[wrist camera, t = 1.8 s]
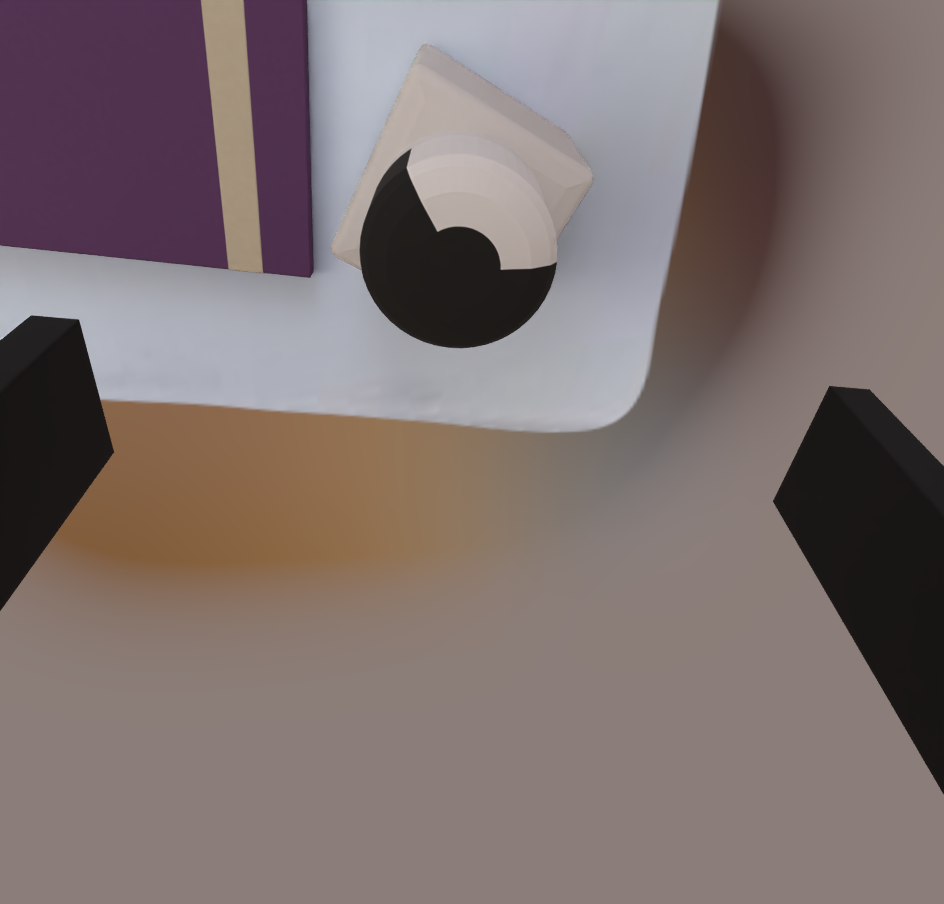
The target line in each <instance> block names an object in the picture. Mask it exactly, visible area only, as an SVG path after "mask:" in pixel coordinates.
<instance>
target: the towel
mask: <svg viewBox="0 0 944 904" xmlns="http://www.w3.org/2000/svg"><path fill="white" fill-rule="evenodd" d="M0 245H2V246H11V247H21V248H30V249H40V250H50V251H59V252H69V253H78V254H88V255H98V256H107V257H117V258H126V259H136V260H145V261H155V262H165V263H174V264H184V265H193V266H203V267H212V268H222V269H229V270H237V271H246V272H256V273H270V274H280V275H289V276H299V277H308V278H310V277H311V275H312V273H313V236H312V196H311V157H310V117H309V78H308V38H307V0H0Z"/></svg>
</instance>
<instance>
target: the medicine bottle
mask: <svg viewBox="0 0 944 904" xmlns="http://www.w3.org/2000/svg"><path fill="white" fill-rule="evenodd" d="M592 182H593V173H592V172H591V170H590V169H589V167H588V165H587V164H586V162H585V161H584V159H583V158H582V156H581V154H580V153H579V151H578V150H577V148H576V147H575V145H574V143H573V142H572V140H571V139H570V137H569V136H568V134H567V133H566V132H565V131H563V130H562V129H560V128H559V127H557V126H556V125H554V124H552V123H551V122H549V121H548V120H546V119H545V118H543V117H542V116H540V115H539V114H537V113H536V112H534V111H532V110H531V109H529V108H528V107H526V106H525V105H523V104H522V103H520V102H519V101H517V100H515V99H514V98H512V97H511V96H509V95H508V94H506V93H505V92H503V91H502V90H500V89H499V88H497V87H495V86H494V85H492V84H491V83H489V82H488V81H486V80H485V79H483V78H482V77H480V76H478V75H477V74H475V73H474V72H472V71H471V70H469V69H468V68H466V67H465V66H463V65H461V64H460V63H458V62H457V61H455V60H454V59H452V58H451V57H449V56H448V55H446V54H445V53H443V52H441V51H440V50H438V49H437V48H435V47H434V46H432V45H429V44H425V45H422V46H421V48H420V49H419V51H418V53H417V55H416V57H415V59H414V61H413V63H412V65H411V68H410V70H409V72H408V74H407V76H406V79H405V81H404V83H403V85H402V88H401V90H400V92H399V94H398V97H397V99H396V101H395V103H394V106H393V108H392V110H391V112H390V114H389V117H388V119H387V121H386V123H385V126H384V128H383V130H382V132H381V135H380V137H379V139H378V141H377V144H376V146H375V148H374V150H373V153H372V155H371V157H370V159H369V162H368V164H367V166H366V168H365V171H364V173H363V175H362V177H361V180H360V182H359V184H358V186H357V189H356V191H355V193H354V195H353V198H352V200H351V202H350V204H349V207H348V209H347V211H346V213H345V216H344V218H343V220H342V222H341V224H340V227H339V229H338V231H337V233H336V236H335V238H334V240H333V242H332V247H331V249H332V252H333V254H334V255H335V256H336V257H337V258H339V259H341V260H343V261H345V262H347V263H349V264H351V265H352V266H354V267H356V268H358V269H360V270H362V274H363V278H364V281H365V283H366V286H367V289H368V291H369V293H370V295H371V296H372V298H373V300H374V302H375V303H376V305H377V306H378V307H379V309H380V310H381V312H382V313H383V314H384V315H385V316H386V317H387V318H388V319H389V320H390V321H391V322H392V323H393V324H395V325H396V326H397V327H398V328H399V329H401V330H402V331H404V332H405V333H407V334H409V335H410V336H412V337H414V338H416V339H419V340H421V341H423V342H426V343H429V344H433V345H436V346H442V347H448V348H469V347H476V346H481V345H486V344H489V343H492V342H495V341H498V340H500V339H502V338H504V337H506V336H508V335H510V334H511V333H513V332H514V331H516V330H517V329H519V328H520V327H521V326H522V325H523V324H525V323H526V322H527V321H528V320H529V319H530V318H531V317H532V316H533V315H534V313H535V312H536V311H537V310H538V309H539V307H540V306H541V304H542V303H543V301H544V300H545V298H546V296H547V294H548V292H549V290H550V288H551V285H552V281H553V278H554V275H555V270H556V265H557V238H558V236H559V235H560V233H561V232H562V230H563V229H564V227H565V225H566V224H567V222H568V221H569V219H570V218H571V216H572V215H573V213H574V211H575V210H576V208H577V207H578V205H579V204H580V202H581V201H582V199H583V197H584V196H585V194H586V193H587V191H588V190H589V188H590V187H591V185H592Z"/></svg>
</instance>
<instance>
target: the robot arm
mask: <svg viewBox="0 0 944 904" xmlns="http://www.w3.org/2000/svg"><path fill="white" fill-rule="evenodd" d="M113 453H114V450H113V447H112V443H111V439H110V435H109V432H108V428H107V424H106V420H105V417H104V412H103V409H102V405H101V401H100V397H99V393H98V390H97V386H96V382H95V378H94V375H93V371H92V367H91V363H90V359H89V356H88V352H87V348H86V344H85V340H84V337H83V333H82V329H81V325H80V322H79V320H77V319H66V318H54V317H43V316H32V315H31V316H30V317H29V318H27V319H26V320H25V321H24V322H23V323H21V324H20V325H19V326H18V327H16V328H15V329H14V330H13V331H11V332H10V333H9V334H8V335H6V336H5V337H4V338H3V339H2V340H0V610H1V609H2V608H3V606H4V605H5V604H6V602H7V601H8V599H9V598H10V597H11V595H12V594H13V592H14V591H15V589H16V588H17V587H18V586H19V584H20V583H21V581H22V580H23V579H24V577H25V576H26V574H27V573H28V571H29V570H30V569H31V567H32V566H33V565H34V563H35V562H36V560H37V559H38V558H39V556H40V555H41V553H42V552H43V550H44V549H45V548H46V546H47V545H48V544H49V542H50V541H51V539H52V538H53V537H54V535H55V534H56V532H57V531H58V530H59V528H60V527H61V525H62V524H63V523H64V521H65V520H66V519H67V517H68V516H69V514H70V513H71V512H72V510H73V509H74V507H75V506H76V505H77V503H78V502H79V500H80V499H81V498H82V496H83V495H84V493H85V492H86V491H87V489H88V488H89V486H90V485H91V484H92V482H93V481H94V479H95V478H96V477H97V475H98V474H99V472H100V471H101V469H102V468H103V467H104V465H105V464H106V463H107V461H108V460H109V458H110V457H111V456H112V454H113ZM773 502H774V504H775V506H776V507H777V509H778V511H779V512H780V514H781V516H782V518H783V519H784V521H785V523H786V525H787V526H788V528H789V530H790V531H791V533H792V535H793V537H794V538H795V540H796V541H797V543H798V545H799V547H800V549H801V550H802V552H803V554H804V556H805V557H806V559H807V561H808V562H809V564H810V566H811V568H812V569H813V571H814V573H815V574H816V576H817V578H818V580H819V581H820V583H821V585H822V586H823V588H824V590H825V592H826V593H827V595H828V597H829V598H830V600H831V602H832V604H833V605H834V607H835V609H836V610H837V612H838V614H839V616H840V617H841V619H842V621H843V622H844V624H845V626H846V628H847V629H848V631H849V633H850V635H851V636H852V638H853V640H854V641H855V643H856V645H857V646H858V648H859V650H860V652H861V653H862V655H863V657H864V658H865V660H866V662H867V664H868V665H869V667H870V669H871V671H872V672H873V674H874V675H875V677H876V679H877V681H878V682H879V684H880V686H881V688H882V689H883V691H884V693H885V695H886V696H887V698H888V700H889V701H890V703H891V705H892V707H893V708H894V710H895V712H896V713H897V715H898V717H899V719H900V720H901V722H902V724H903V725H904V727H905V729H906V731H907V732H908V734H909V736H910V737H911V739H912V741H913V743H914V744H915V746H916V748H917V749H918V751H919V753H920V754H921V756H922V758H923V760H924V761H925V763H926V765H927V767H928V768H929V770H930V772H931V773H932V775H933V777H934V779H935V780H936V782H937V784H938V785H939V787H940V789H941V791H942V792H943V794H944V466H943V465H942V464H941V463H940V462H939V461H938V460H937V459H936V458H935V457H934V456H933V455H932V454H931V453H930V452H929V451H928V450H927V449H926V448H925V446H924V445H922V443H920V441H919V440H917V438H916V437H915V436H914V435H913V434H912V433H911V432H910V431H909V430H908V429H907V428H906V427H905V426H904V425H903V424H902V423H901V422H900V421H899V420H898V419H897V417H895V416H894V414H893V413H892V412H891V411H890V410H888V408H887V407H886V406H885V405H884V404H883V403H882V402H881V401H880V400H879V399H878V398H877V397H876V396H875V395H874V394H873V393H872V392H871V391H870V390H867V389H857V388H846V387H834V386H829V388H828V390H827V392H826V394H825V396H824V398H823V401H822V402H821V404H820V406H819V409H818V411H817V413H816V414H815V417H814V419H813V421H812V423H811V425H810V427H809V429H808V431H807V433H806V435H805V437H804V439H803V441H802V443H801V445H800V447H799V449H798V451H797V454H796V456H795V457H794V459H793V461H792V464H791V466H790V468H789V470H788V472H787V474H786V476H785V478H784V480H783V482H782V484H781V486H780V488H779V490H778V492H777V494H776V496H775V498H774V500H773Z"/></svg>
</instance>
